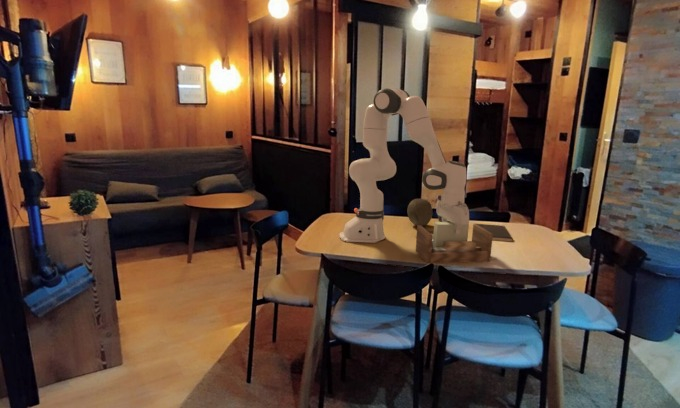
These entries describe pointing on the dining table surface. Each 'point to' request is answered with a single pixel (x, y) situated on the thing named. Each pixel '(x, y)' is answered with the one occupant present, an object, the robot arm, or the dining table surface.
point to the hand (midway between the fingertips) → (450, 230)
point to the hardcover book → (497, 232)
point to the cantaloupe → (420, 212)
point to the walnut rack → (478, 255)
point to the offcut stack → (456, 247)
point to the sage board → (448, 233)
